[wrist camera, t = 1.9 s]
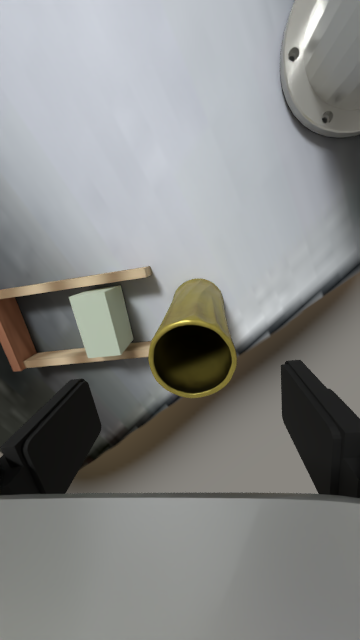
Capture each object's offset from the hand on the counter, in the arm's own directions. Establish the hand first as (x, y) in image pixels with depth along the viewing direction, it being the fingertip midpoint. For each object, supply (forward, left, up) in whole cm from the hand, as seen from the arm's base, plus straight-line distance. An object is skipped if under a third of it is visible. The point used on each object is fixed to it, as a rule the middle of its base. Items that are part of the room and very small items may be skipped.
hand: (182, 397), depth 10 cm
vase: (0, 0, -17) cm, 17 cm away
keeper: (+11, 0, -17) cm, 20 cm away
